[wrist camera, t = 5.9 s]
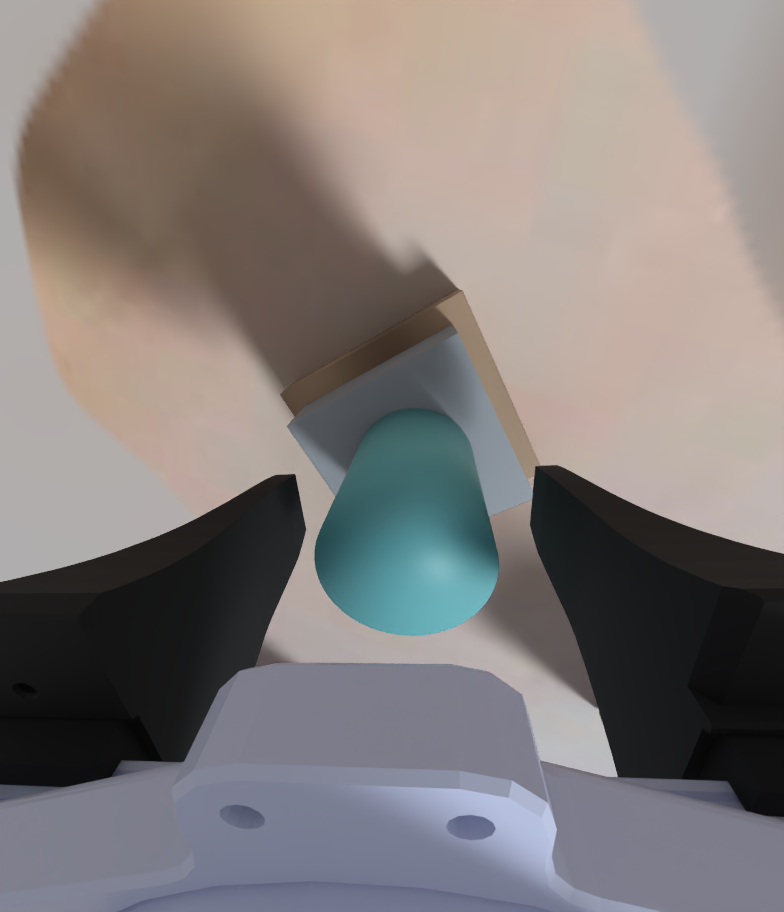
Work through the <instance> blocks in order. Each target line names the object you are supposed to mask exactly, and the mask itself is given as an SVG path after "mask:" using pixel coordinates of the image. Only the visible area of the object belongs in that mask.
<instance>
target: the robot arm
mask: <svg viewBox="0 0 784 912" xmlns="http://www.w3.org/2000/svg"><path fill="white" fill-rule="evenodd" d="M530 527H531V530H532V534H533V537H534V541H535V544H536V547H537V551H538V554H539V556H540V558H541V561H542V563H543V565H544V567H545V569H546V572H547V574H548V576H549V578H550V580H551V582H552V585H553V587H554V589H555V591H556V593H557V595H558V597H559V600H560V602H561V604H562V606H563V608H564V610H565V612H566V615H567V617H568V619H569V622H570V624H571V626H572V629H573V631H574V634H575V637H576V640H577V643H578V646H579V649H580V652H581V655H582V657H583V660H584V663H585V666H586V669H587V673H588V676H589V679H590V682H591V685H592V689H593V692H594V695H595V698H596V701H597V704H598V708H599V711H600V715H601V718H602V721H603V725H604V728H605V732H606V735H607V739H608V742H609V746H610V749H611V753H612V756H613V760H614V763H615V767H616V771H617V775H618V777H605V776H601V775H597V774H593V773H589V772H585V771H581V770H577V769H573V768H569V767H565V766H561V765H557V764H553V763H549V762H544V761H540V759H539V755H538V751H537V747H536V742H535V738H534V734H533V730H532V726H531V722H530V719H529V715H528V712H527V709H526V706H525V703H524V700H523V696H522V694H521V693H519V692H518V691H516V690H515V689H513V688H512V687H511V686H509V685H508V684H506V683H505V682H503V681H502V680H501V679H499V678H498V677H496V676H495V675H493V674H492V673H490V672H488V671H483V670H478V669H473V668H467V667H462V666H457V665H452V664H376V663H274V664H269V665H264V666H258V667H255V665H256V662H257V659H258V656H259V653H260V650H261V646H262V643H263V640H264V637H265V634H266V631H267V629H268V626H269V624H270V621H271V618H272V616H273V614H274V612H275V609H276V607H277V605H278V603H279V600H280V598H281V596H282V594H283V591H284V589H285V587H286V585H287V583H288V580H289V578H290V576H291V573H292V571H293V569H294V567H295V564H296V562H297V560H298V557H299V554H300V550H301V547H302V543H303V539H304V536H305V532H306V527H305V522H304V517H303V512H302V507H301V501H300V496H299V491H298V486H297V481H296V476H295V474H288V475H275V476H272V477H270V478H268V479H266V480H264V481H262V482H260V483H259V484H257V485H255V486H254V487H252V488H250V489H248V490H247V491H245V492H243V493H242V494H240V495H238V496H237V497H235V498H233V499H231V500H230V501H228V502H226V503H224V504H223V505H221V506H219V507H217V508H215V509H213V510H212V511H210V512H208V513H206V514H204V515H202V516H201V517H199V518H197V519H195V520H193V521H191V522H189V523H187V524H185V525H182V526H180V527H178V528H176V529H174V530H171V531H169V532H167V533H164V534H162V535H160V536H157V537H155V538H152V539H150V540H147V541H144V542H142V543H139V544H136V545H134V546H131V547H128V548H125V549H122V550H120V551H117V552H114V553H111V554H108V555H105V556H101V557H98V558H95V559H92V560H88V561H85V562H82V563H78V564H75V565H71V566H67V567H63V568H59V569H55V570H52V571H47V572H43V573H39V574H34V575H30V576H26V577H21V578H17V579H13V580H8V581H4V582H0V912H784V554H782V553H778V552H773V551H769V550H765V549H761V548H757V547H754V546H750V545H746V544H742V543H739V542H735V541H732V540H729V539H725V538H722V537H719V536H716V535H712V534H709V533H706V532H703V531H700V530H697V529H694V528H691V527H688V526H685V525H683V524H680V523H677V522H675V521H672V520H670V519H667V518H664V517H662V516H659V515H657V514H654V513H652V512H650V511H647V510H645V509H643V508H641V507H639V506H637V505H634V504H632V503H630V502H628V501H626V500H624V499H622V498H620V497H618V496H616V495H614V494H612V493H610V492H608V491H606V490H604V489H602V488H600V487H599V486H597V485H595V484H593V483H591V482H589V481H587V480H586V479H584V478H582V477H580V476H578V475H576V474H575V473H573V472H571V471H569V470H567V469H565V468H562V467H560V466H557V465H552V466H535V476H534V487H533V498H532V509H531V520H530Z"/></svg>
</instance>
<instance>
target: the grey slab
mask: <svg viewBox="0 0 784 912" xmlns="http://www.w3.org/2000/svg"><path fill="white" fill-rule="evenodd" d="M408 408H421V409H428V410H432V411H435V412H438V413H440V414H443V415H444V416H446V417H448V418H450V419H451V420H452V421H454V422H455V423H456V424H457V425H458V426H459V427H460V428H461V429H462V430H463V432H464V433H465V434H466V436H467V438H468V440H469V442H470V444H471V447H472V451H473V455H474V459H475V463H476V467H477V471H478V475H479V479H480V483H481V487H482V491H483V495H484V499H485V503H486V507H487V512H488V516H492V515H494V514H497V513H499V512H502V511H504V510H507V509H509V508H512V507H514V506H517V505H519V504H521V503H524V502H526V501H529V500H531V499H532V498H533V491H532V489H531V487H530V484H529V482H528V480H527V478H526V476H525V474H524V472H523V470H522V467H521V465H520V463H519V461H518V459H517V457H516V455H515V453H514V450H513V448H512V446H511V444H510V442H509V440H508V438H507V436H506V434H505V431H504V429H503V427H502V425H501V423H500V421H499V419H498V417H497V414H496V412H495V410H494V408H493V406H492V404H491V402H490V400H489V397H488V395H487V393H486V391H485V389H484V387H483V385H482V383H481V380H480V378H479V376H478V374H477V372H476V370H475V368H474V366H473V363H472V361H471V359H470V357H469V355H468V353H467V351H466V349H465V346H464V344H463V342H462V340H461V338H460V336H459V334H458V332H457V330H456V329H455V327H454V325H453V324H452V325H450V326H449V327H447V328H445V329H443V330H441V331H440V332H438V333H436V334H434V335H432V336H431V337H429V338H427V339H425V340H423V341H421V342H420V343H418V344H416V345H414V346H412V347H411V348H409V349H407V350H405V351H403V352H402V353H400V354H398V355H396V356H394V357H393V358H391V359H389V360H387V361H385V362H384V363H382V364H380V365H378V366H376V367H375V368H373V369H371V370H369V371H367V372H365V373H364V374H362V375H360V376H358V377H356V378H355V379H353V380H351V381H349V382H347V383H346V384H344V385H342V386H340V387H338V388H337V389H335V390H333V391H331V392H329V393H328V394H326V395H324V396H322V397H320V398H318V399H317V400H315V401H313V402H311V403H309V404H308V405H306V406H305V407H304V408H303V409H302V410H301V411H300V412H299V413H298V414H297V415H296V417H295V418H294V419H293V420H292V421H291V422H290V423H289V424H288V426H287V427H288V429H289V430H290V432H291V433H292V434H293V436H294V437H295V439H296V440H297V442H298V443H299V445H300V446H301V447H302V449H303V450H304V452H305V453H306V455H307V456H308V458H309V459H310V460H311V462H312V463H313V465H314V466H315V468H316V469H317V471H318V472H319V473H320V475H321V476H322V478H323V479H324V481H325V482H326V484H327V485H328V486H329V488H330V489H331V491H332V492H333V494H334V495H335V497H336V495H337V493H338V491H339V489H340V486H341V484H342V482H343V480H344V478H345V476H346V473H347V471H348V469H349V467H350V465H351V463H352V461H353V458H354V456H355V454H356V452H357V450H358V448H359V446H360V443H361V441H362V439H363V437H364V436H365V434H366V432H367V431H368V430H369V428H370V427H371V426H372V425H373V424H374V423H375V422H377V421H378V420H379V419H380V418H382V417H384V416H386V415H387V414H390V413H392V412H394V411H398V410H402V409H408Z"/></svg>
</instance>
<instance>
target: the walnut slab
mask: <svg viewBox="0 0 784 912" xmlns="http://www.w3.org/2000/svg"><path fill="white" fill-rule="evenodd" d="M452 324H453V325H454V327H455V329H456V330H457V332H458V334H459V336H460V338H461V340H462V342H463V344H464V346H465V349H466V351H467V353H468V355H469V357H470V359H471V361H472V363H473V366H474V368H475V370H476V372H477V374H478V376H479V378H480V380H481V383H482V385H483V387H484V389H485V391H486V393H487V395H488V397H489V400H490V402H491V404H492V406H493V408H494V410H495V412H496V414H497V417H498V419H499V421H500V423H501V425H502V427H503V429H504V431H505V434H506V436H507V438H508V440H509V442H510V444H511V446H512V448H513V450H514V453H515V455H516V457H517V459H518V461H519V463H520V465H521V467H522V470H523V472H524V474H525V476H526V478H527V479H528V478H531V477H533V476H535V466H540V464H539V461H538V459H537V457H536V455H535V452H534V450H533V448H532V446H531V443H530V441H529V439H528V437H527V434H526V432H525V430H524V428H523V425H522V423H521V421H520V419H519V416H518V414H517V412H516V410H515V407H514V405H513V403H512V401H511V398H510V396H509V394H508V392H507V389H506V387H505V385H504V383H503V380H502V378H501V376H500V374H499V371H498V369H497V367H496V365H495V362H494V360H493V358H492V356H491V353H490V351H489V349H488V347H487V344H486V342H485V340H484V338H483V335H482V333H481V331H480V329H479V326H478V324H477V322H476V320H475V317H474V315H473V313H472V311H471V308H470V306H469V304H468V302H467V299H466V297H465V295H464V293H463V291H462V290H459V289H457V290H456V291H454V292H452V293H450V294H449V295H447V296H445V297H443V298H442V299H440V300H438V301H436V302H435V303H433V304H431V305H429V306H428V307H426V308H424V309H423V310H421V311H419V312H417V313H416V314H414V315H412V316H410V317H409V318H407V319H405V320H403V321H402V322H400V323H398V324H396V325H395V326H393V327H391V328H389V329H388V330H386V331H384V332H382V333H381V334H379V335H377V336H375V337H374V338H372V339H370V340H368V341H367V342H365V343H363V344H361V345H360V346H358V347H356V348H354V349H353V350H351V351H349V352H347V353H346V354H344V355H342V356H340V357H339V358H337V359H335V360H333V361H332V362H330V363H328V364H326V365H325V366H323V367H321V368H319V369H318V370H316V371H314V372H312V373H311V374H309V375H307V376H305V377H304V378H302V379H300V380H298V381H297V382H295V383H293V384H292V385H291V386H290V387H289V388H287V389H286V390H285V391H284V392H283V393H281V394H280V395H281V397H282V398H283V400H284V401H285V403H286V404H287V406H288V407H289V409H290V410H291V412H292V413H293V415H294V416H295V417H296V415H297V414H298V413H299V412H300V411H301V410H302V409H303V408H304V407H305V406H306V405H308V404H309V403H311V402H313V401H315V400H317V399H318V398H320V397H322V396H324V395H326V394H328V393H329V392H331V391H333V390H335V389H337V388H338V387H340V386H342V385H344V384H346V383H347V382H349V381H351V380H353V379H355V378H356V377H358V376H360V375H362V374H364V373H365V372H367V371H369V370H371V369H373V368H375V367H376V366H378V365H380V364H382V363H384V362H385V361H387V360H389V359H391V358H393V357H394V356H396V355H398V354H400V353H402V352H403V351H405V350H407V349H409V348H411V347H412V346H414V345H416V344H418V343H420V342H421V341H423V340H425V339H427V338H429V337H431V336H432V335H434V334H436V333H438V332H440V331H441V330H443V329H445V328H447V327H449V326H450V325H452Z"/></svg>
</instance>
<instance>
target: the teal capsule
mask: <svg viewBox="0 0 784 912" xmlns="http://www.w3.org/2000/svg"><path fill="white" fill-rule="evenodd" d="M315 566H316V571H317V575H318V578H319V580H320V582H321V585H322V587H323V589H324V590H325V592H326V593H327V595H328V596H329V597H330V599H331V600H332V601H333V602H334V604H336V605H337V606H338V607H339V608H340V609H341V610H342V611H343V612H344V613H346V614H347V615H348V616H350V617H351V618H353V619H354V620H356V621H358V622H359V623H362V624H364V625H366V626H368V627H370V628H373V629H376V630H379V631H382V632H386V633H391V634H397V635H410V636H415V635H427V634H434V633H438V632H442V631H445V630H448V629H451V628H453V627H456V626H458V625H459V624H461V623H463V622H465V621H466V620H468V619H469V618H471V617H472V616H474V615H475V614H476V613H477V612H478V611H479V610H480V609H481V608H482V607H483V606H484V605H485V603H486V602H487V601H488V599H489V597H490V596H491V594H492V592H493V590H494V588H495V585H496V582H497V578H498V571H499V559H498V552H497V548H496V544H495V540H494V536H493V532H492V528H491V524H490V520H489V516H488V512H487V507H486V503H485V499H484V495H483V491H482V487H481V483H480V479H479V475H478V471H477V467H476V463H475V459H474V455H473V451H472V447H471V444H470V442H469V440H468V438H467V436H466V434H465V433H464V432H463V430H462V429H461V428H460V427H459V426H458V425H457V424H456V423H455V422H454V421H452V420H451V419H450V418H448V417H446V416H444V415H443V414H440V413H438V412H435V411H432V410H428V409H421V408H408V409H402V410H398V411H394V412H392V413H390V414H387V415H386V416H384V417H382V418H380V419H379V420H378V421H377V422H375V423H374V424H373V425H372V426H371V427H370V428H369V430H368V431H367V432H366V434H365V436H364V437H363V439H362V441H361V443H360V446H359V448H358V450H357V452H356V454H355V456H354V458H353V461H352V463H351V465H350V467H349V469H348V471H347V473H346V476H345V478H344V480H343V482H342V484H341V486H340V489H339V491H338V493H337V495H336V497H335V499H334V501H333V504H332V506H331V508H330V510H329V512H328V514H327V516H326V519H325V521H324V523H323V525H322V527H321V529H320V532H319V535H318V537H317V540H316V546H315Z"/></svg>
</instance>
